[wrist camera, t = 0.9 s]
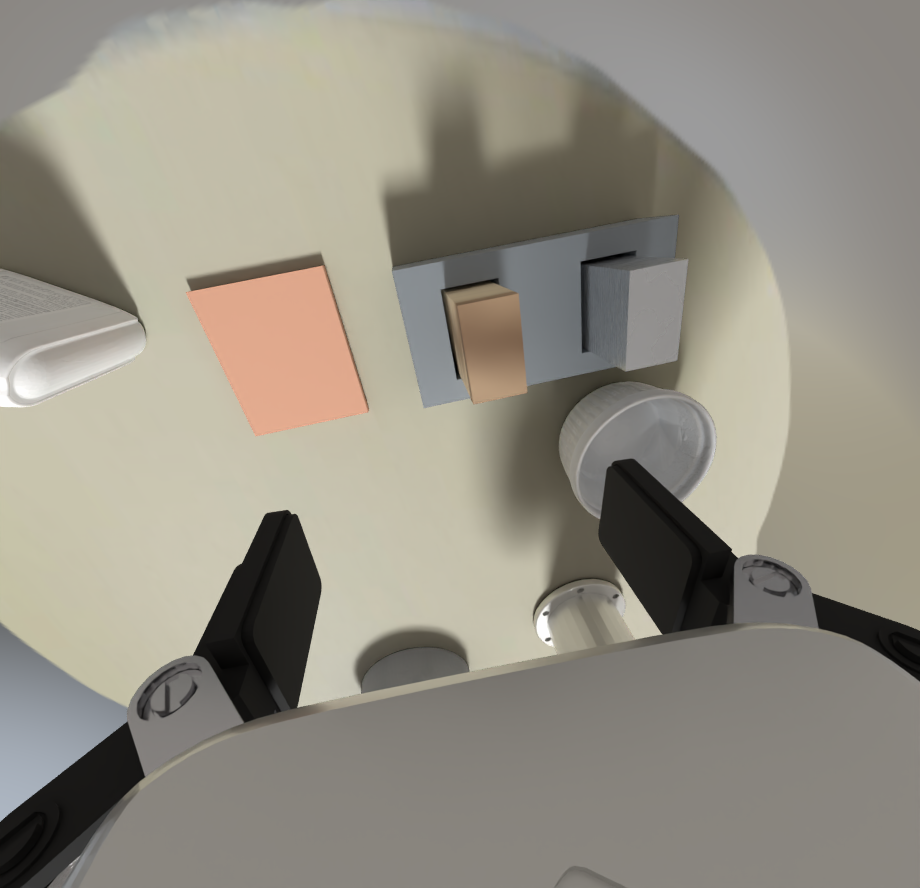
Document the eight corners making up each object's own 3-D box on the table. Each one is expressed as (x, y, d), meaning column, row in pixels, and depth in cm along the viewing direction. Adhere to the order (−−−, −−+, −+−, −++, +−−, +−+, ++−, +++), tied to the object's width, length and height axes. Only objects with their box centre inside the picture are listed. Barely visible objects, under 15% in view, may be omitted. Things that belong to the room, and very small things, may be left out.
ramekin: (583, 352, 35) (622, 375, 29) (694, 389, 39) (749, 417, 33) (527, 471, 41) (550, 511, 35) (629, 494, 44) (666, 535, 38)
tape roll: (478, 694, 59) (484, 731, 54) (381, 721, 59) (379, 761, 54) (457, 633, 51) (462, 670, 47) (346, 663, 51) (341, 704, 47)
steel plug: (598, 327, 34) (677, 360, 25) (561, 335, 34) (625, 371, 25) (599, 253, 32) (688, 258, 22) (558, 261, 31) (629, 270, 22)
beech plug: (490, 349, 34) (527, 392, 24) (451, 358, 34) (473, 404, 24) (480, 277, 31) (518, 293, 21) (438, 285, 31) (457, 305, 21)
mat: (368, 408, 35) (368, 412, 34) (258, 432, 34) (255, 436, 34) (324, 265, 29) (322, 265, 28) (191, 291, 29) (185, 292, 28)
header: (632, 342, 35) (665, 356, 31) (420, 387, 35) (423, 408, 30) (638, 218, 31) (678, 214, 26) (392, 266, 30) (391, 271, 25)
